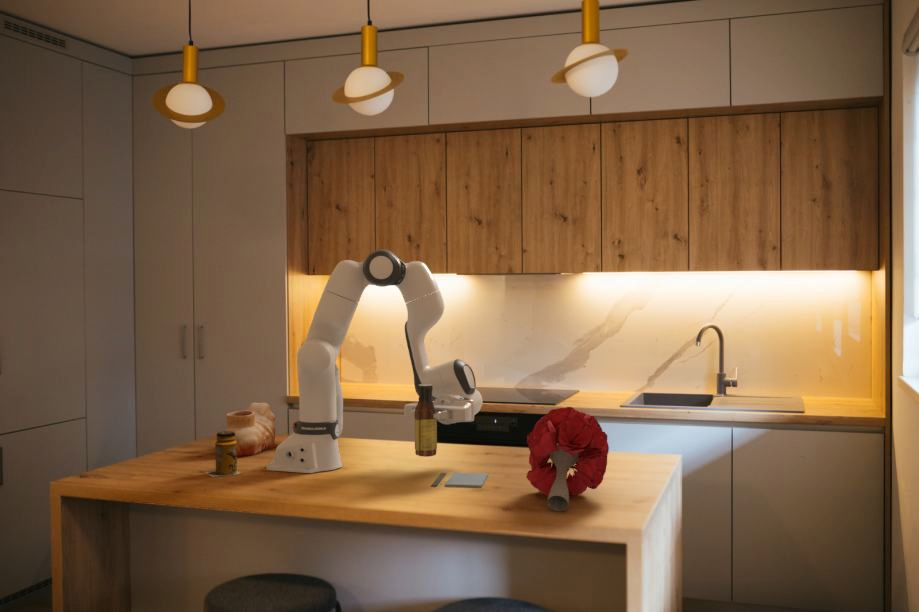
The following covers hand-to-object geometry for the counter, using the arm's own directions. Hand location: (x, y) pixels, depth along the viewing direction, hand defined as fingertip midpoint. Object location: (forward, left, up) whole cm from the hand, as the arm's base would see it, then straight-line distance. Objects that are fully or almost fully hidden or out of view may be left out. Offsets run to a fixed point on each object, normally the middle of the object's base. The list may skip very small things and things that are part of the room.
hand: (424, 415), depth 245 cm
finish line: (+4, 0, -18) cm, 19 cm away
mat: (+12, 0, -18) cm, 22 cm away
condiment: (-60, +1, -18) cm, 63 cm away
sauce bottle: (0, +1, -11) cm, 12 cm away
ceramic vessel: (-66, +36, -18) cm, 77 cm away
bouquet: (+39, -17, -18) cm, 46 cm away
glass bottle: (-45, +55, -18) cm, 73 cm away
